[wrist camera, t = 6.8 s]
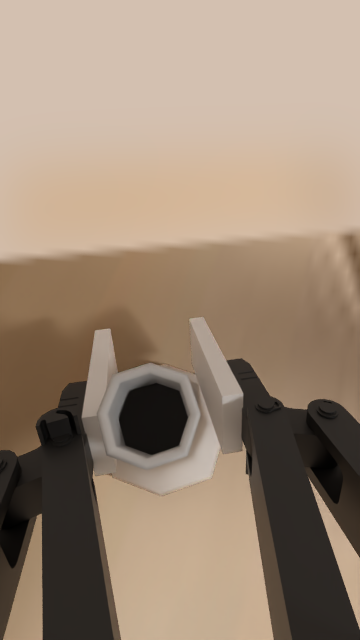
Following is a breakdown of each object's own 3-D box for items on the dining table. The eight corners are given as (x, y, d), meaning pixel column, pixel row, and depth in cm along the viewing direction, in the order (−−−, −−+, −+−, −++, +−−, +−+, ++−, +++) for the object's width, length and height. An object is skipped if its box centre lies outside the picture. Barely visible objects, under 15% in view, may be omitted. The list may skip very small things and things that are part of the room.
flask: (106, 364, 21) (46, 302, 12) (223, 365, 21) (258, 304, 12) (95, 495, 19) (9, 551, 9) (228, 496, 19) (277, 553, 9)
